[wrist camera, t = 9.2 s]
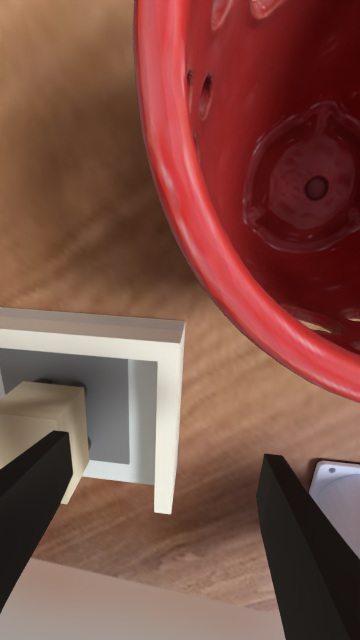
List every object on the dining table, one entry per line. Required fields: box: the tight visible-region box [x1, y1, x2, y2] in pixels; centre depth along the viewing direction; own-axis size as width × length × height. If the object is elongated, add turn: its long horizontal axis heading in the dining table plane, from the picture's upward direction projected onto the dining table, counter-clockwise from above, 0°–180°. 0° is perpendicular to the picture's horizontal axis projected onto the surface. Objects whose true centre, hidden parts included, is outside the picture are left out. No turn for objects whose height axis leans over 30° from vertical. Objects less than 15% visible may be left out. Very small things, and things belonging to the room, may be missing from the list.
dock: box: [0, 307, 185, 514], centre depth 18 cm, size 16×13×4 cm
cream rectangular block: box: [0, 378, 91, 504], centre depth 16 cm, size 4×6×4 cm, turn 177°
